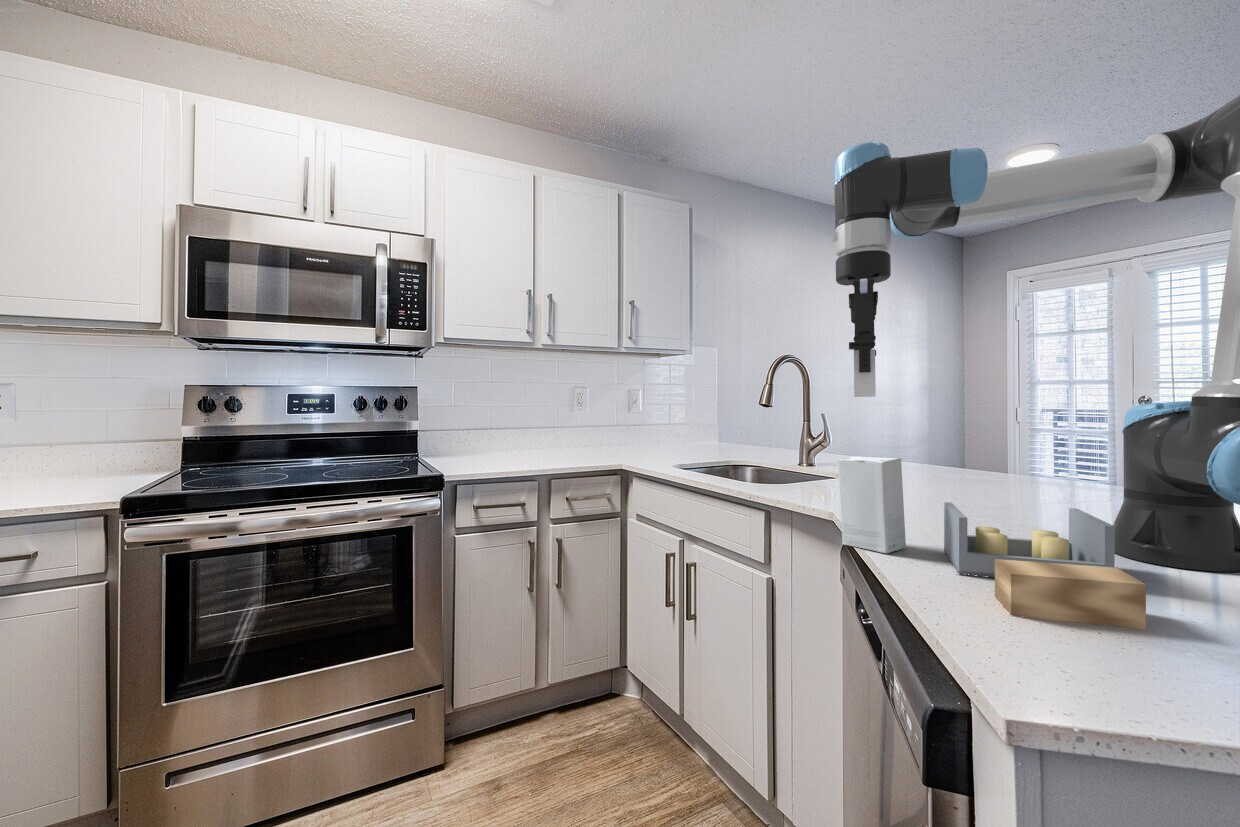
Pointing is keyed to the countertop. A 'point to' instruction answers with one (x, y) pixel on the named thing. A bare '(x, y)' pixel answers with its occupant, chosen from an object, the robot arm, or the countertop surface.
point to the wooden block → (1071, 593)
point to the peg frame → (1027, 544)
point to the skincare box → (872, 503)
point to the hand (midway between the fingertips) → (864, 397)
